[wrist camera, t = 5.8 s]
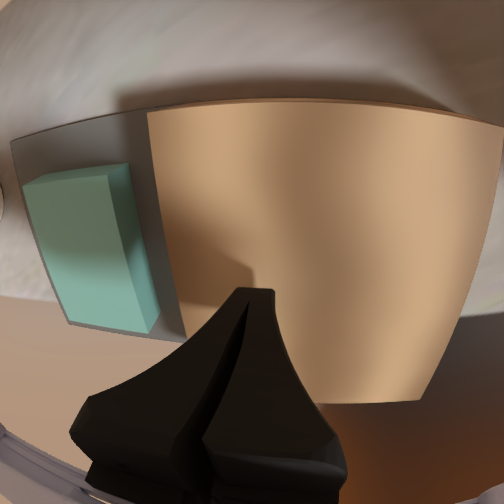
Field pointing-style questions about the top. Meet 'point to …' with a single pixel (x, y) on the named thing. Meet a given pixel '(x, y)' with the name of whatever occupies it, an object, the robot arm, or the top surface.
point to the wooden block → (330, 228)
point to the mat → (144, 187)
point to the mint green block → (94, 246)
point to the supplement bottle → (1, 203)
